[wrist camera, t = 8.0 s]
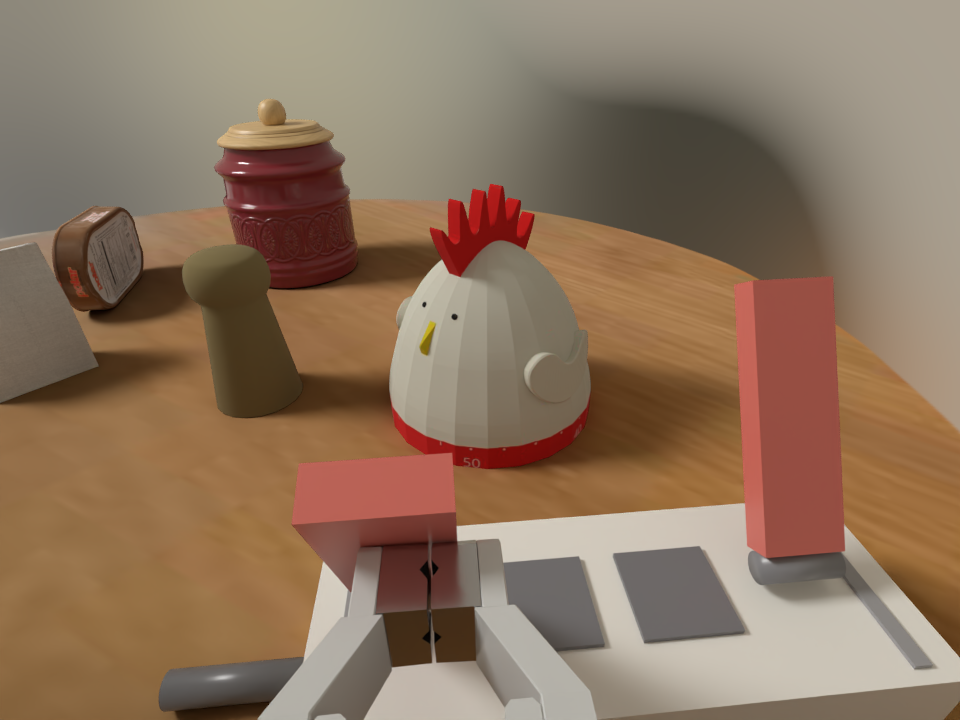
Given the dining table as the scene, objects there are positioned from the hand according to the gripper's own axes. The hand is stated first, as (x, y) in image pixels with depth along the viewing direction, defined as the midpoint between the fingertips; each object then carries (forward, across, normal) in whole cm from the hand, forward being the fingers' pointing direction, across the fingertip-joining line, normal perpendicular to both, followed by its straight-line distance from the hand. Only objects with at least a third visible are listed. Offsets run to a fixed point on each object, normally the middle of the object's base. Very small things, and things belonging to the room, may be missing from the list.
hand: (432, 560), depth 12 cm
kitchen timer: (+23, +3, -12) cm, 26 cm away
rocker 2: (+4, +13, -7) cm, 15 cm away
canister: (+51, -16, -12) cm, 55 cm away
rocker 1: (+4, -1, -7) cm, 8 cm away
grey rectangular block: (+30, -32, -12) cm, 45 cm away
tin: (+46, -34, -12) cm, 59 cm away
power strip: (+4, +3, -12) cm, 13 cm away
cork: (+26, -14, -12) cm, 31 cm away
